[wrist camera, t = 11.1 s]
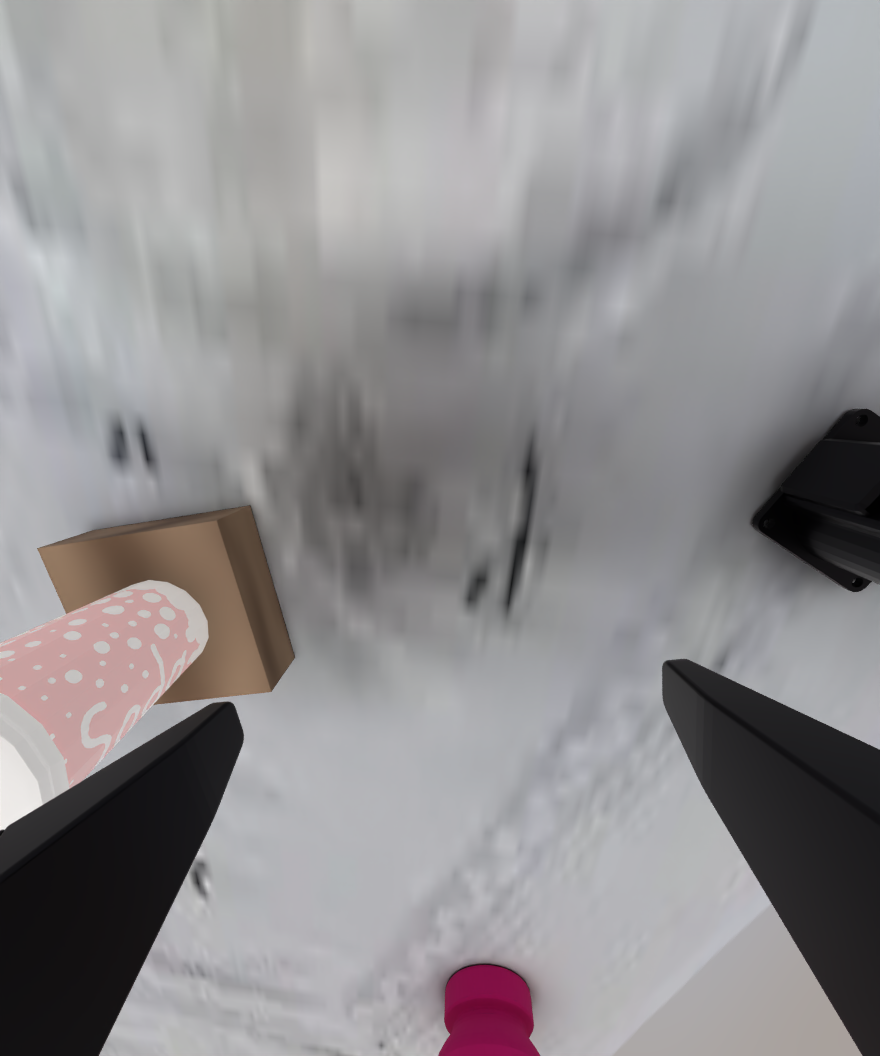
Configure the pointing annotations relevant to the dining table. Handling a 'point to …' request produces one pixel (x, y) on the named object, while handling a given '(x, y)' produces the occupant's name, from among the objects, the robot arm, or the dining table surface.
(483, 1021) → the pepper mill
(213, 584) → the walnut block
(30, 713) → the beverage cup
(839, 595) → the dining table surface
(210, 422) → the dining table surface
